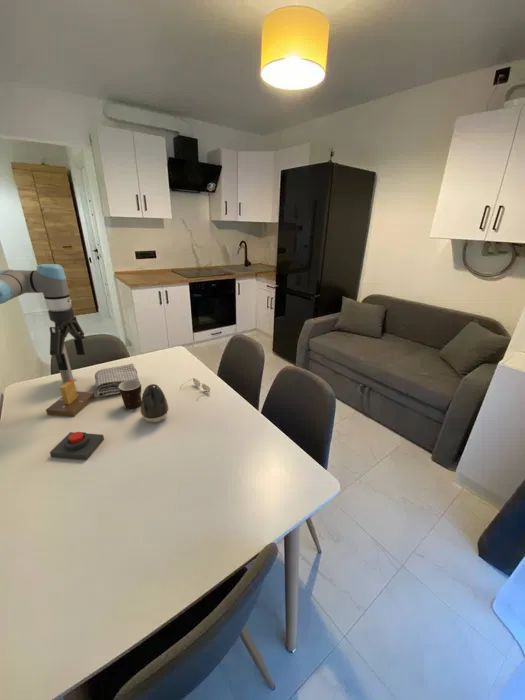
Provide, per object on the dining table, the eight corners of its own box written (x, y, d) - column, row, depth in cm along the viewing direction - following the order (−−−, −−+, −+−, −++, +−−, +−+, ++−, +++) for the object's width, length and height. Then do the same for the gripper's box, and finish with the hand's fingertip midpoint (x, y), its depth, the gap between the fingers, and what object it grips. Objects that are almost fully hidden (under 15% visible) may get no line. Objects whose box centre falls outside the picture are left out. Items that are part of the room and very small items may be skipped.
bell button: (66, 443, 96) (65, 439, 95) (74, 435, 99) (73, 431, 98) (78, 444, 95) (77, 440, 95) (86, 436, 99) (85, 432, 98)
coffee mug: (130, 398, 127) (127, 378, 123) (148, 401, 126) (145, 381, 122) (112, 413, 117) (108, 392, 113) (131, 417, 115) (128, 395, 111)
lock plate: (74, 416, 114) (72, 411, 113) (47, 414, 114) (45, 409, 113) (95, 397, 127) (94, 392, 126) (70, 395, 127) (69, 390, 126)
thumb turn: (68, 404, 117) (64, 386, 114) (64, 404, 117) (59, 386, 114) (77, 397, 122) (73, 380, 119) (73, 396, 122) (68, 379, 119)
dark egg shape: (136, 423, 112) (130, 389, 106) (152, 408, 121) (148, 376, 115) (159, 428, 110) (155, 394, 104) (174, 413, 119) (171, 381, 113)
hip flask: (74, 392, 130) (64, 351, 122) (64, 394, 128) (52, 353, 120) (73, 377, 142) (63, 339, 134) (63, 379, 140) (53, 340, 132)
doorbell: (51, 457, 94) (48, 448, 93) (71, 436, 104) (69, 427, 102) (87, 460, 94) (84, 450, 92) (104, 439, 103) (102, 430, 101)
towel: (96, 383, 137) (93, 368, 134) (137, 375, 146) (135, 361, 143) (98, 399, 125) (94, 383, 122) (142, 389, 134) (140, 374, 131)
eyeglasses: (211, 394, 133) (210, 387, 131) (197, 402, 128) (196, 395, 126) (193, 383, 141) (192, 376, 139) (179, 390, 136) (177, 383, 134)
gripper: (51, 319, 93) (66, 377, 102) (86, 300, 116) (96, 349, 125) (26, 319, 93) (43, 377, 101) (67, 300, 115) (78, 348, 124)
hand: (73, 361), depth 113 cm, fingers open, 13 cm apart
